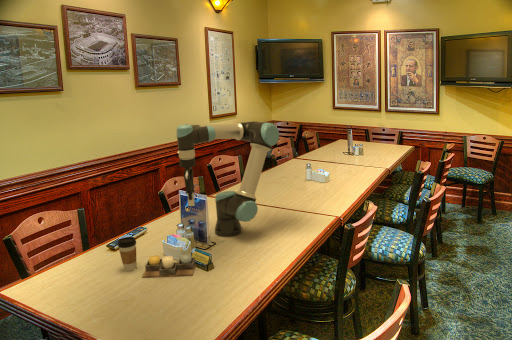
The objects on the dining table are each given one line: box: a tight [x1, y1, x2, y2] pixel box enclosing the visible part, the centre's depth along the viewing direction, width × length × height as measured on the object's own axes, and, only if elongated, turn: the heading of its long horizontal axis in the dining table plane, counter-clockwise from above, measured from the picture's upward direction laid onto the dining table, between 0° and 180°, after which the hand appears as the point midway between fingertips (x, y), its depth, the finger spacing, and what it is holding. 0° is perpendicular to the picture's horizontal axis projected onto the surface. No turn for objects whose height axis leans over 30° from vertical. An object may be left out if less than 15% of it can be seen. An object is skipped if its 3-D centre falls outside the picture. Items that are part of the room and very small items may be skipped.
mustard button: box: [148, 255, 161, 265], centre depth 208 cm, size 5×5×4 cm
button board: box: [141, 256, 197, 279], centre depth 206 cm, size 23×13×3 cm, turn 89°
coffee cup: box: [117, 236, 138, 272], centre depth 209 cm, size 8×8×15 cm
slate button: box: [180, 253, 192, 264], centre depth 207 cm, size 5×5×4 cm
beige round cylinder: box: [161, 255, 174, 269], centre depth 203 cm, size 5×5×4 cm
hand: (191, 205), depth 215 cm, fingers closed
